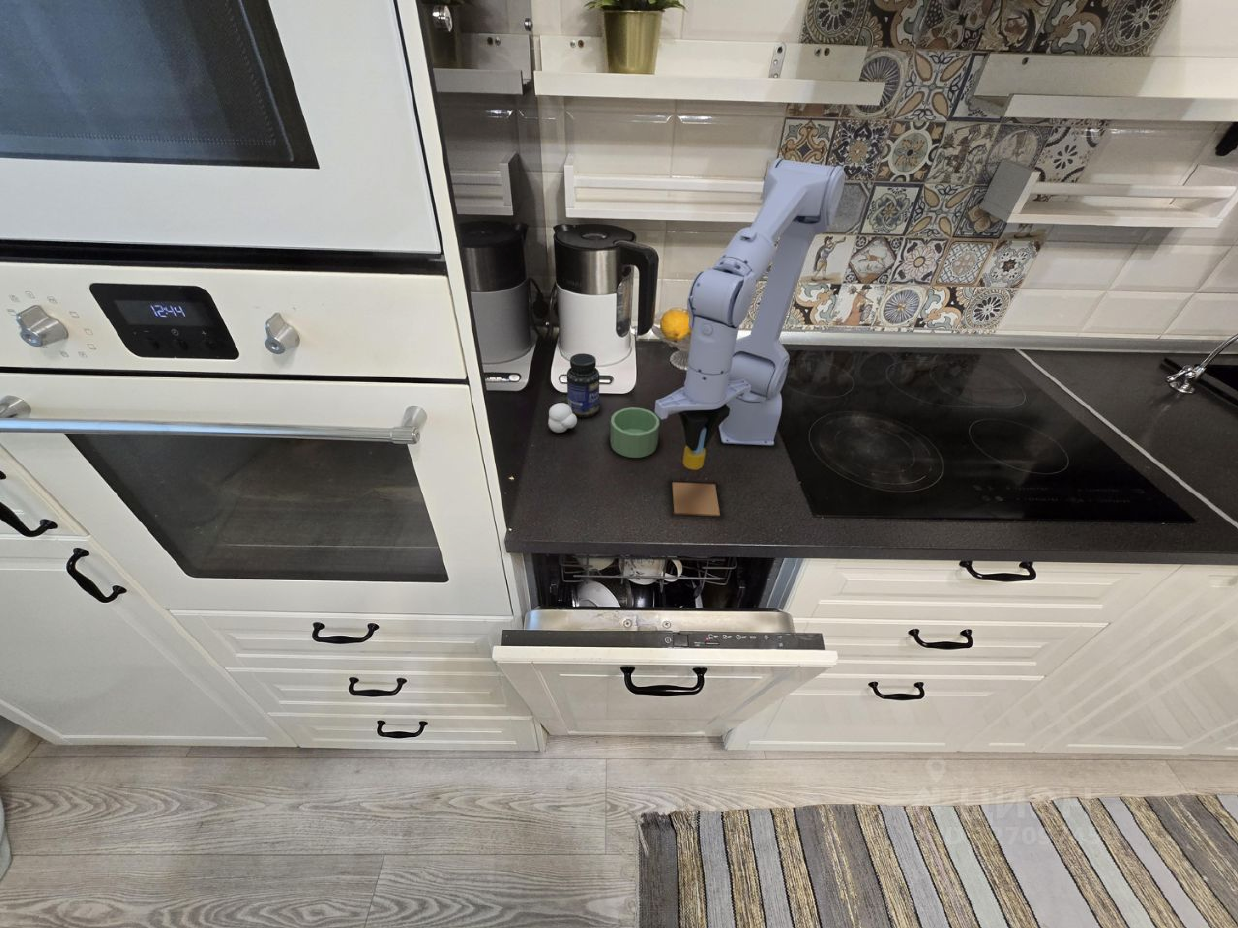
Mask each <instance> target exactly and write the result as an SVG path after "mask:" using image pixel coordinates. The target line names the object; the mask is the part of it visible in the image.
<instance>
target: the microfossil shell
mask: <svg viewBox="0 0 1238 928" xmlns="http://www.w3.org/2000/svg"><path fill="white" fill-rule="evenodd" d="M577 418H578V417H576V416H575V415H574V414H573V413H572V409H571V408H570V406H568V403H567V404H566V403H565V402H564V403H562V402H560V403H556V404H553V405H552V406H551V407H550V408H549V409H548V419H547V420H548V423H547V425H548V427H549V429H550V430H551V431H552V432H554V433H557V434H560V433H564V432H566V431H567V430H569V429H573V428H575V427H576V425H577V423H578V419H577Z"/></svg>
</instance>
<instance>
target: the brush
mask: <svg viewBox="0 0 1238 928" xmlns="http://www.w3.org/2000/svg"><path fill="white" fill-rule="evenodd" d="M705 435H706V428H705V427H704V428H703V430H702V432H701V435H700V440H699V445H698V448H697V450H695V451H692V450H691V449H690V448H689V447H688V446H687V445H685V447H684V449H683V456H682V464H683V466H684V467H685V468H687V469H690V470H699V469H702V468H703V466H704V464H705V459H706V453H707V451H706V449H705V448H703V446H704V441H705Z"/></svg>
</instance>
